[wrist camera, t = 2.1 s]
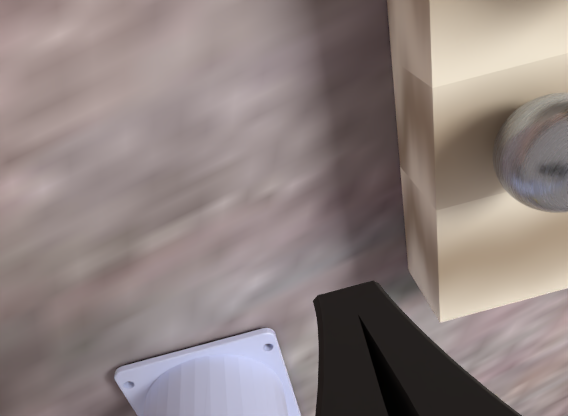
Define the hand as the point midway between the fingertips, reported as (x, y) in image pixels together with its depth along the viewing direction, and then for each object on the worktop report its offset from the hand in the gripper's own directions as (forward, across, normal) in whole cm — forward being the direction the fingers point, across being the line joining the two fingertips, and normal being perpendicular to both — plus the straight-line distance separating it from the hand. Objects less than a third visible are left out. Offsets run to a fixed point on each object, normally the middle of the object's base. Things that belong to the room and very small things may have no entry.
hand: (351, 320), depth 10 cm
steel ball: (+4, -8, 0) cm, 9 cm away
